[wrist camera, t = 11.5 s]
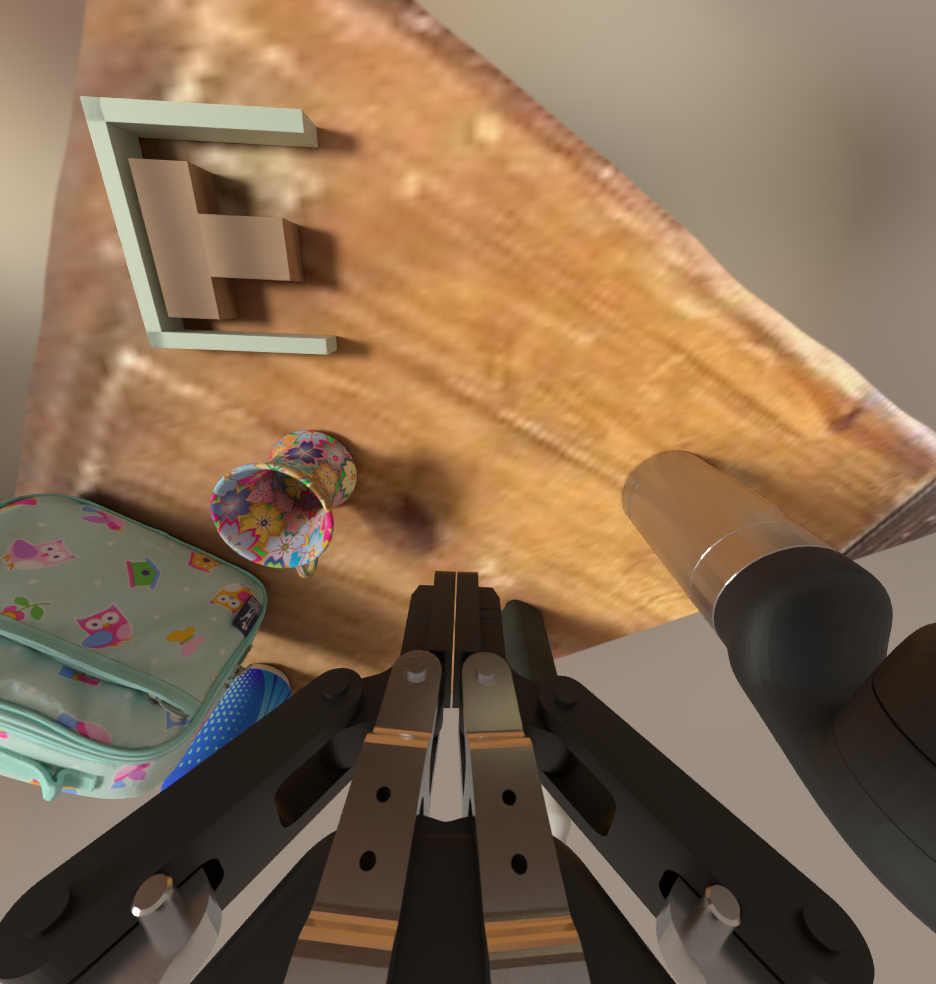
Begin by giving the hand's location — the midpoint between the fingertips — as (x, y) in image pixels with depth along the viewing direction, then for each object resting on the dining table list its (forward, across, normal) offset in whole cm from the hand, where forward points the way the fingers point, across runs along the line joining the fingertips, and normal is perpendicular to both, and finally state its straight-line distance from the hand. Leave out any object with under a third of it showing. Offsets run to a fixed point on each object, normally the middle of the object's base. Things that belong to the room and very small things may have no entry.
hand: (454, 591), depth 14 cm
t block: (+26, +19, -12) cm, 35 cm away
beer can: (+27, +25, +38) cm, 53 cm away
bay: (+26, +18, -12) cm, 34 cm away
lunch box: (+27, +32, +19) cm, 46 cm away
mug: (+27, +14, +8) cm, 31 cm away
